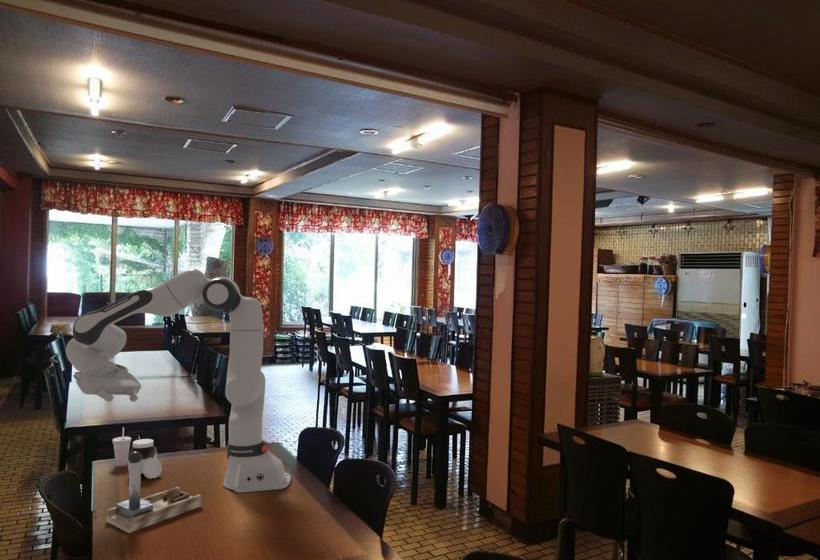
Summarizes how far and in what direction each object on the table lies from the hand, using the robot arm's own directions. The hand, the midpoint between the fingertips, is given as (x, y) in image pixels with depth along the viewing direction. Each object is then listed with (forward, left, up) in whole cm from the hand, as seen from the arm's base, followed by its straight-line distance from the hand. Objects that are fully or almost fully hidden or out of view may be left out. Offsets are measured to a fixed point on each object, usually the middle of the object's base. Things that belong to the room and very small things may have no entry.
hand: (123, 399), depth 180 cm
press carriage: (-9, +14, -30) cm, 34 cm away
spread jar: (+1, -25, -32) cm, 41 cm away
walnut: (-17, +5, -28) cm, 33 cm away
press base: (-13, +10, -32) cm, 36 cm away
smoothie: (+14, -37, -32) cm, 52 cm away
